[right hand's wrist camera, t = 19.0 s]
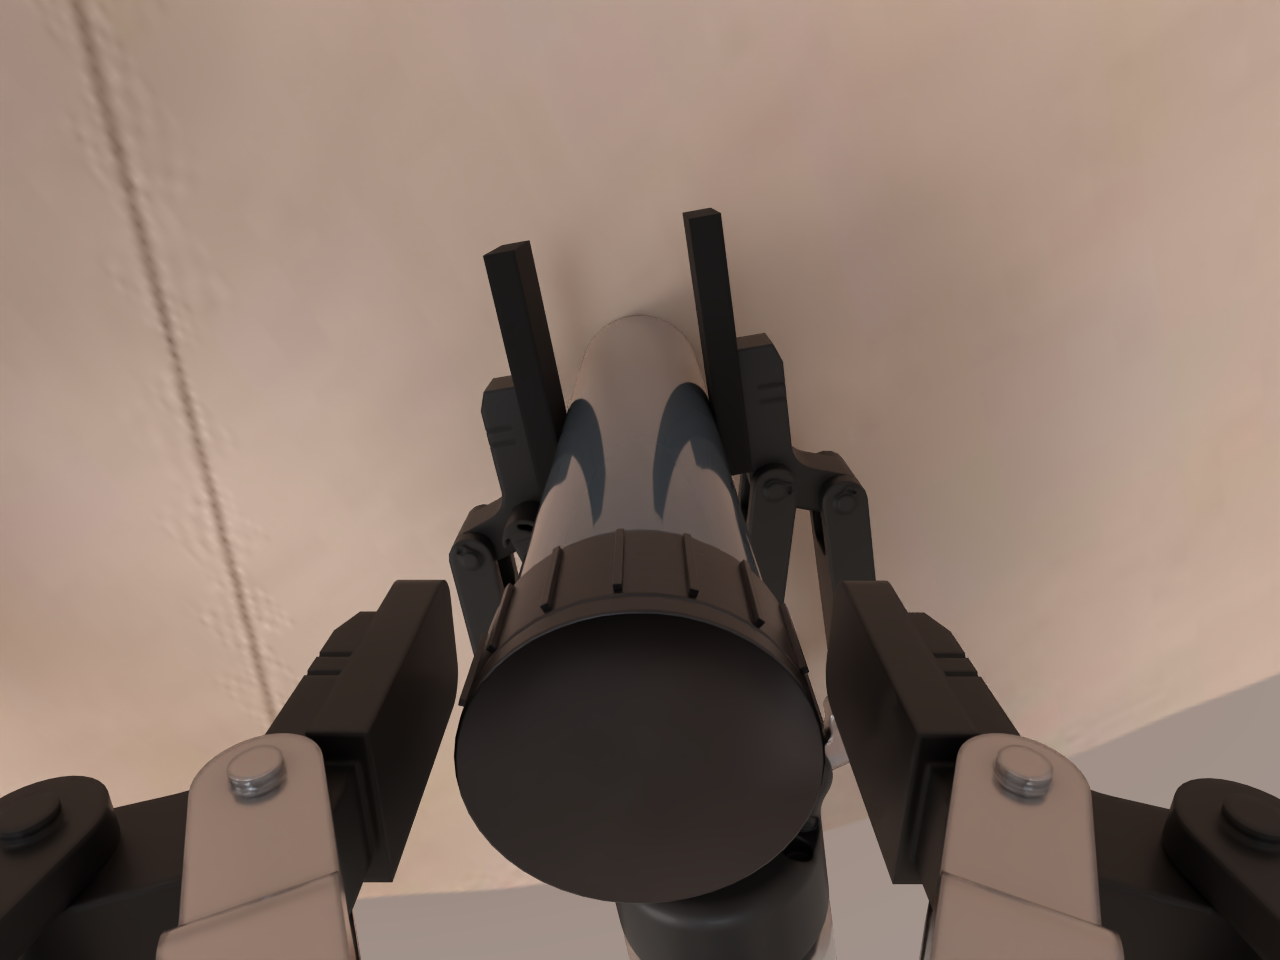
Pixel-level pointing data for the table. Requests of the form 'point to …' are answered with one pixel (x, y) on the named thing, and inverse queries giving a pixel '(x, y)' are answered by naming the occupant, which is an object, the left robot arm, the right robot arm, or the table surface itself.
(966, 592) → the table surface
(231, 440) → the table surface
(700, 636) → the lid
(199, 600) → the table surface
